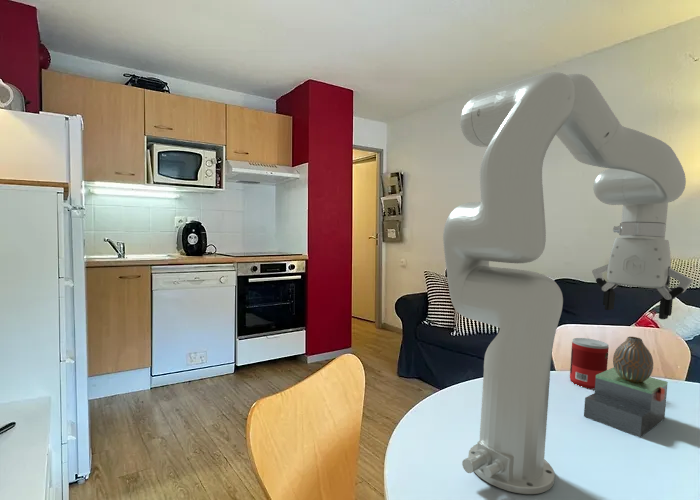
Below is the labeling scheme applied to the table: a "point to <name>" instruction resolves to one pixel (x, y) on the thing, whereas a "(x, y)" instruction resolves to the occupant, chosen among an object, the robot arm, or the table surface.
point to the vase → (633, 360)
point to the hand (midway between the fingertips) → (634, 313)
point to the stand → (627, 403)
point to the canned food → (587, 361)
